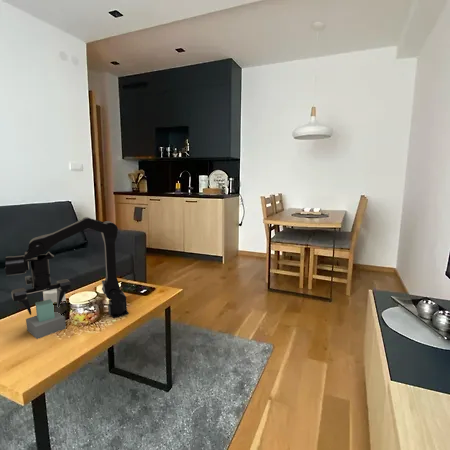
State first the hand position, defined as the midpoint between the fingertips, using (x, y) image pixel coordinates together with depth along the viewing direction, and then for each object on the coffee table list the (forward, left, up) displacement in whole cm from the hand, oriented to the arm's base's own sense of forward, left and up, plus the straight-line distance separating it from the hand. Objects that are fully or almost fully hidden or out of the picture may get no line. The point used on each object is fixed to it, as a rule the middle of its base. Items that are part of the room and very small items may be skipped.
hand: (44, 310), depth 113 cm
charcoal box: (0, 0, -8) cm, 8 cm away
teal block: (0, 0, -3) cm, 3 cm away
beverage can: (-6, -13, -8) cm, 16 cm away
